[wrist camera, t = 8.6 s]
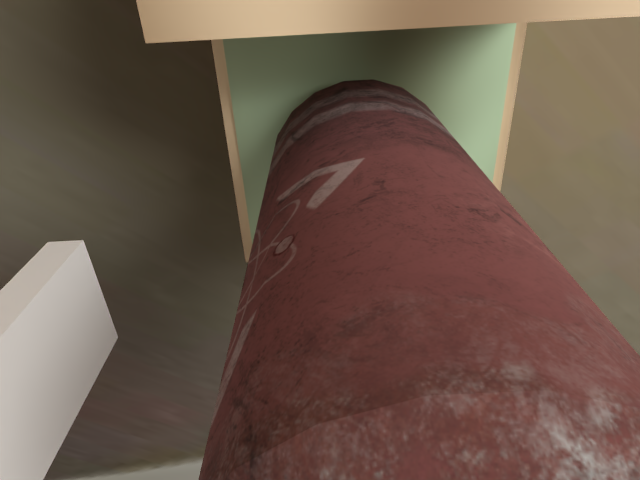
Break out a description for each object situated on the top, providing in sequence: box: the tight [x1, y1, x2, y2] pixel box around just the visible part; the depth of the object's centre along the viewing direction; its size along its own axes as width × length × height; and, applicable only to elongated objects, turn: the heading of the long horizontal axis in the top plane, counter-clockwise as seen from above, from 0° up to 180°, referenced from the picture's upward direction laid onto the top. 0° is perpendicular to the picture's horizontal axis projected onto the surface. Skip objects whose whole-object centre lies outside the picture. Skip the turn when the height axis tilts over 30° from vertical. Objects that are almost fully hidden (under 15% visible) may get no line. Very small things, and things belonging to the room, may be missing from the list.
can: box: [199, 79, 640, 480], centre depth 10 cm, size 6×6×14 cm
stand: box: [136, 0, 640, 262], centre depth 14 cm, size 10×17×12 cm, turn 3°
